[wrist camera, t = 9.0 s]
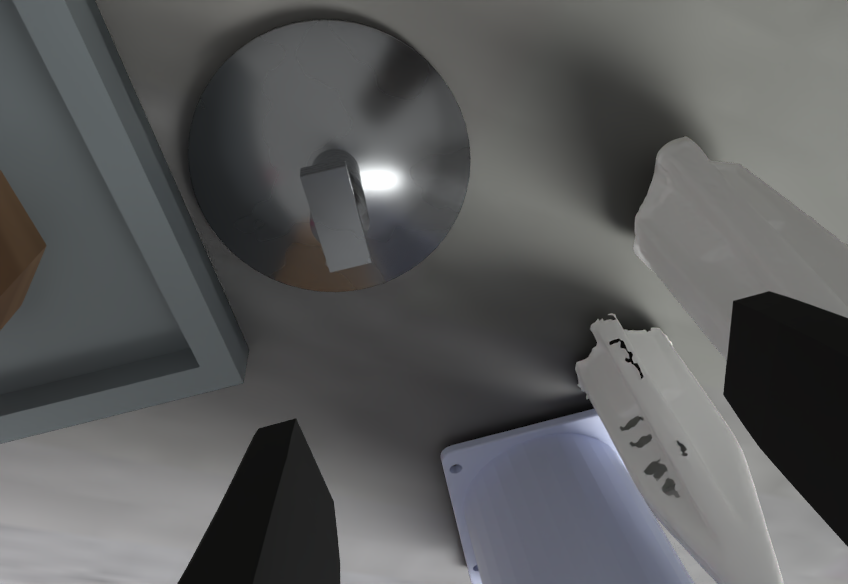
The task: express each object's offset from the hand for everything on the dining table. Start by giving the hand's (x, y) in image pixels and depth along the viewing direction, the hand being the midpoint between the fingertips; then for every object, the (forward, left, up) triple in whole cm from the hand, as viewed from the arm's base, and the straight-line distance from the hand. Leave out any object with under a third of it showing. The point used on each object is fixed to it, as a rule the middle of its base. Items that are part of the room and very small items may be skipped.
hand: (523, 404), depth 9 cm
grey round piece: (+1, +3, -10) cm, 10 cm away
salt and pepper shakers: (-6, -7, -10) cm, 14 cm away
